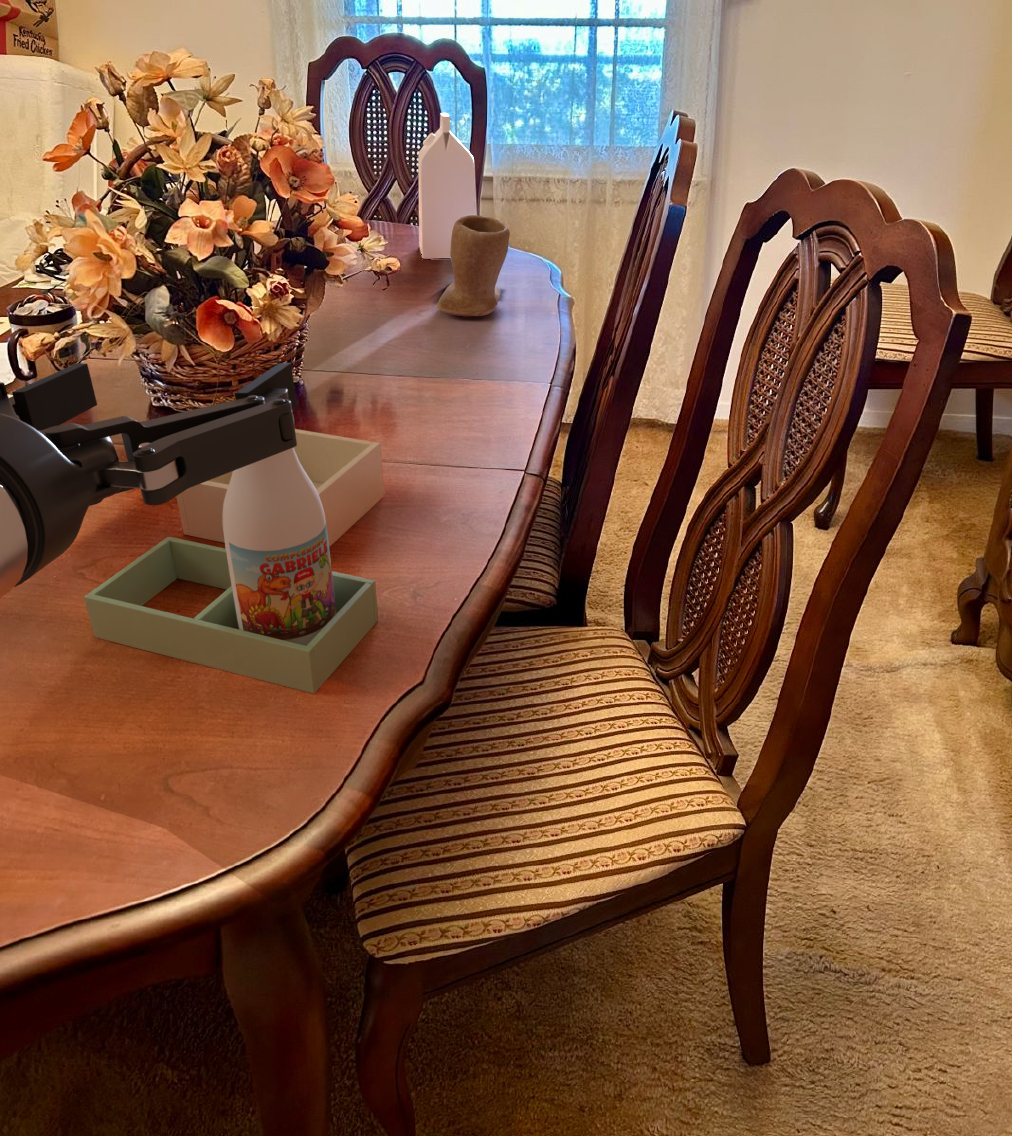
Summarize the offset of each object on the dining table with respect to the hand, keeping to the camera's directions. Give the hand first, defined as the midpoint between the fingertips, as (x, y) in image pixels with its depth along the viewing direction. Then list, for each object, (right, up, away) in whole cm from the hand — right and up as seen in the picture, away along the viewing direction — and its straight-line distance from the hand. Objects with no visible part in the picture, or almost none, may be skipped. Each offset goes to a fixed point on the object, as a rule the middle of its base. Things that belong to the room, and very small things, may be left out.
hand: (186, 384), depth 59 cm
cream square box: (-2, -6, +36) cm, 37 cm away
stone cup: (+15, +32, +100) cm, 107 cm away
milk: (+8, +54, +136) cm, 147 cm away
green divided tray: (-2, -17, +19) cm, 25 cm away
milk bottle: (+2, -18, +18) cm, 25 cm away
